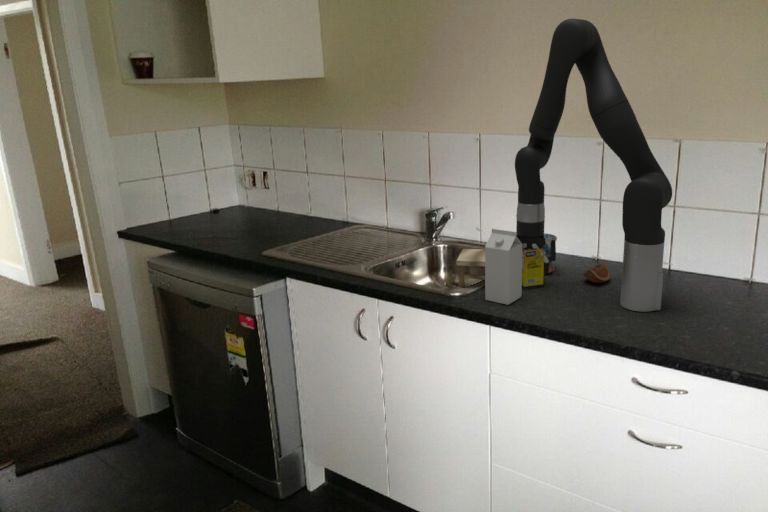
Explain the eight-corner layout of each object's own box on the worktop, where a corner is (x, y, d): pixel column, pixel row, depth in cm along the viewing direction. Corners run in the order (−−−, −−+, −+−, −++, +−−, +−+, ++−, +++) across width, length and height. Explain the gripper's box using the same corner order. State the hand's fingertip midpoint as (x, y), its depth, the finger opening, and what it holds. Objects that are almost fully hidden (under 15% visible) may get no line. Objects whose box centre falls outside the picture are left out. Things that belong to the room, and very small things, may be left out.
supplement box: (543, 286, 180) (544, 249, 177) (524, 289, 179) (524, 251, 176) (533, 280, 186) (534, 244, 183) (514, 283, 184) (515, 246, 181)
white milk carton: (498, 292, 178) (498, 225, 172) (521, 297, 173) (522, 229, 168) (485, 300, 172) (484, 231, 167) (508, 305, 168) (509, 235, 162)
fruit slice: (598, 288, 177) (599, 271, 175) (577, 283, 182) (577, 266, 180) (614, 281, 182) (615, 264, 181) (593, 276, 187) (593, 259, 186)
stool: (503, 275, 191) (503, 249, 188) (499, 289, 180) (499, 262, 177) (463, 274, 194) (462, 248, 192) (456, 287, 183) (456, 260, 181)
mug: (545, 278, 187) (546, 243, 184) (518, 272, 194) (518, 238, 190) (566, 268, 195) (568, 234, 192) (540, 262, 201) (541, 229, 198)
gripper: (557, 215, 178) (555, 271, 183) (505, 214, 182) (504, 268, 187) (557, 222, 171) (554, 279, 176) (503, 220, 175) (502, 277, 180)
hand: (529, 273), depth 181 cm, fingers closed on supplement box, 8 cm apart
